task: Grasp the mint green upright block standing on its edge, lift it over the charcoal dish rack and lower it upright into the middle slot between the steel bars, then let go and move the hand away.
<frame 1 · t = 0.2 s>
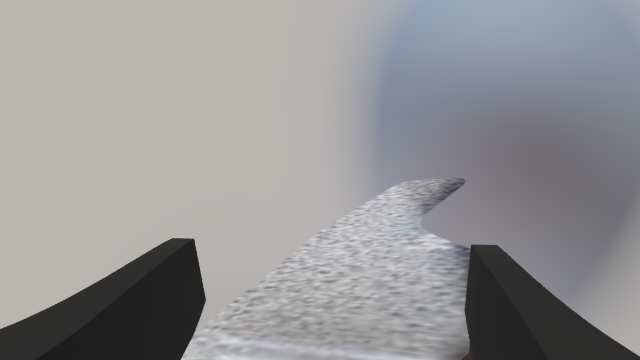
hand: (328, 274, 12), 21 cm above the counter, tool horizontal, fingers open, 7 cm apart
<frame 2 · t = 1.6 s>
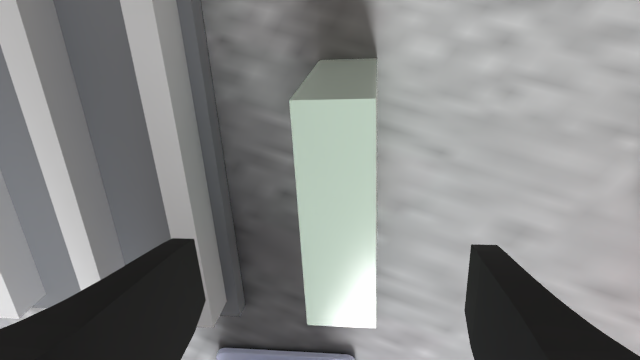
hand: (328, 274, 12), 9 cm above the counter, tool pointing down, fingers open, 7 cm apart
rack: (48, 151, 22), on the counter
mint green upright block: (350, 149, 20), on the counter
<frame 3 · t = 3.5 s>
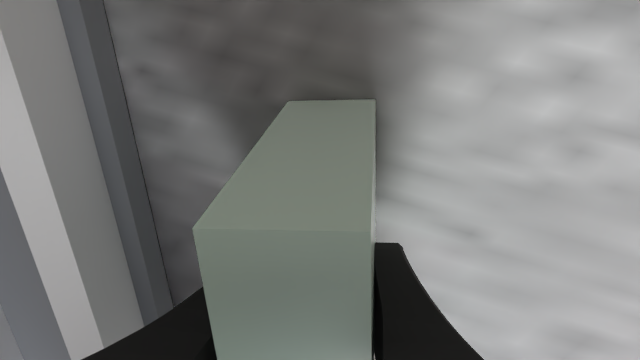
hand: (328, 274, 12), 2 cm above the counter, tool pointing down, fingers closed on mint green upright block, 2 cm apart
mint green upright block: (336, 227, 14), on the counter, touching gripper
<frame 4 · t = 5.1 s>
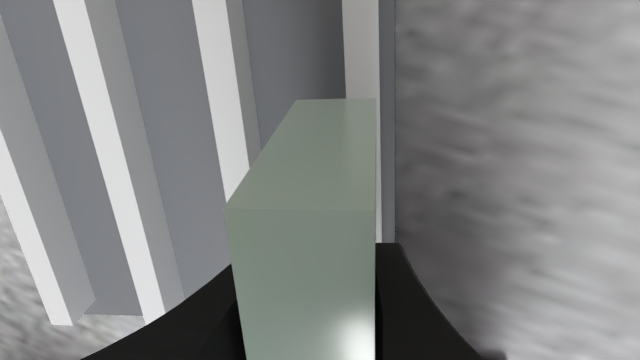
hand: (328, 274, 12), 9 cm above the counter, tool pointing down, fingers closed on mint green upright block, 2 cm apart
rack: (202, 154, 21), on the counter
mint green upright block: (340, 216, 15), point 6 cm above the counter, touching gripper
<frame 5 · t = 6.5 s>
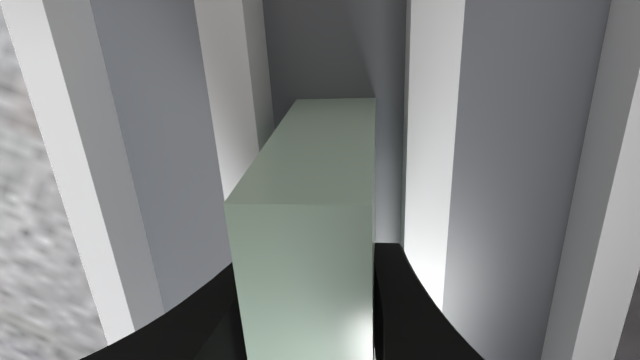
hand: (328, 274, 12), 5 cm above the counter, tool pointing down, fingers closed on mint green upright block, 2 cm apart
rack: (342, 196, 16), on the counter
mint green upright block: (340, 215, 15), point 1 cm above the counter, touching gripper, rack
when the fingers open (5 cm above the counter, at t = 7.1 s): mint green upright block stays where it is, resting on rack.
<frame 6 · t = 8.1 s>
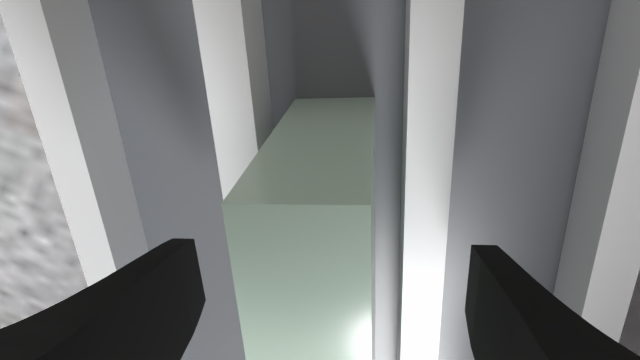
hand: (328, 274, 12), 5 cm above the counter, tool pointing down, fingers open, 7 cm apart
rack: (342, 196, 16), on the counter
mint green upright block: (339, 215, 15), point 1 cm above the counter, touching rack
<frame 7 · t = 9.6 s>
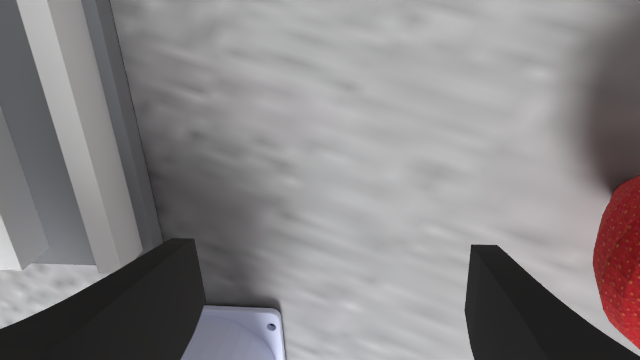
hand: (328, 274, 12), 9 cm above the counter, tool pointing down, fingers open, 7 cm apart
strawberry: (625, 189, 20), on the counter
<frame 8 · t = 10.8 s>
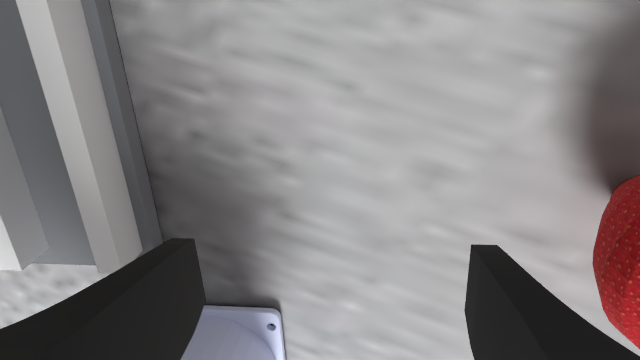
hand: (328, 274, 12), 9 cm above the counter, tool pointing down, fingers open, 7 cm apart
strawberry: (625, 189, 20), on the counter
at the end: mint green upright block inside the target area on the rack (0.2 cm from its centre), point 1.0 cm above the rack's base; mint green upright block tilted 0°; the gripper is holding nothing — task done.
